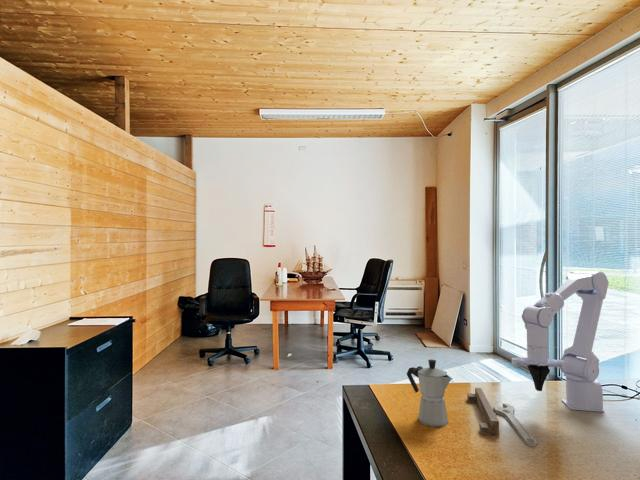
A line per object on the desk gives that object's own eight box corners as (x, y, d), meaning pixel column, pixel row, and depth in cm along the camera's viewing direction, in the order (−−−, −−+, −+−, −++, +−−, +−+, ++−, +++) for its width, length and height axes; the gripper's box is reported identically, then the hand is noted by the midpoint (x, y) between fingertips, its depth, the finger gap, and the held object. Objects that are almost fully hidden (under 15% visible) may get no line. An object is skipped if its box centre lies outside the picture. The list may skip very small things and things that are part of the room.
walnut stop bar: (481, 400, 132) (481, 388, 132) (499, 436, 106) (498, 421, 106) (467, 399, 133) (467, 387, 133) (481, 434, 107) (481, 419, 107)
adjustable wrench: (538, 449, 101) (538, 442, 101) (511, 446, 102) (511, 439, 102) (511, 409, 125) (511, 403, 125) (490, 407, 126) (490, 402, 126)
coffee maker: (459, 422, 115) (458, 361, 116) (446, 432, 109) (445, 367, 109) (414, 408, 125) (414, 352, 126) (400, 417, 119) (399, 357, 119)
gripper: (515, 347, 118) (516, 392, 117) (568, 349, 115) (570, 396, 114) (509, 342, 125) (510, 384, 124) (559, 344, 121) (560, 387, 121)
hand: (538, 389), depth 120 cm, fingers closed
